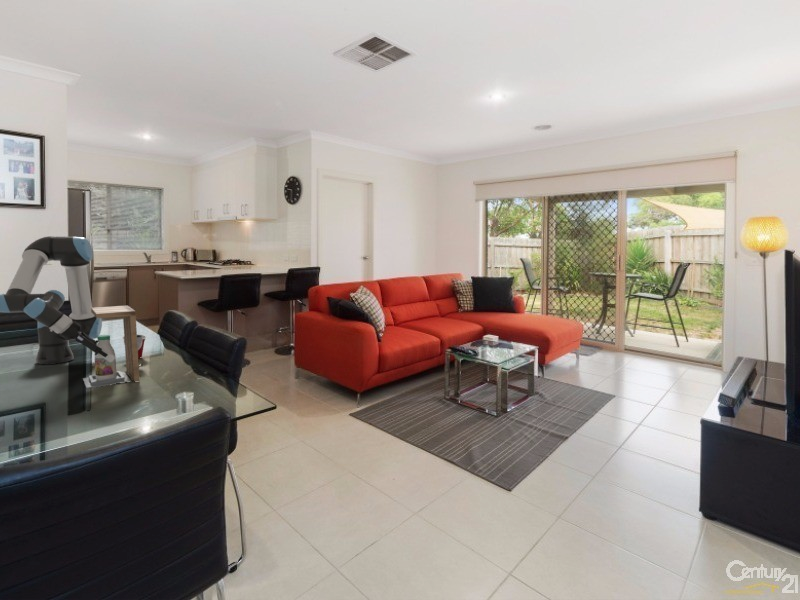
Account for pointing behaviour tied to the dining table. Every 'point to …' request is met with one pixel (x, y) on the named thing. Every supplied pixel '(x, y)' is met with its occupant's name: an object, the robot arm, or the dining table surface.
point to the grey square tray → (93, 383)
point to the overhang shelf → (129, 334)
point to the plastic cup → (141, 347)
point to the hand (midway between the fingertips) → (110, 356)
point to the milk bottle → (103, 366)
